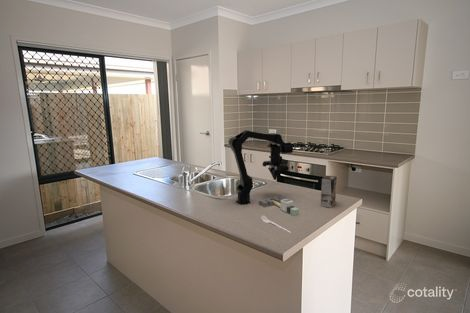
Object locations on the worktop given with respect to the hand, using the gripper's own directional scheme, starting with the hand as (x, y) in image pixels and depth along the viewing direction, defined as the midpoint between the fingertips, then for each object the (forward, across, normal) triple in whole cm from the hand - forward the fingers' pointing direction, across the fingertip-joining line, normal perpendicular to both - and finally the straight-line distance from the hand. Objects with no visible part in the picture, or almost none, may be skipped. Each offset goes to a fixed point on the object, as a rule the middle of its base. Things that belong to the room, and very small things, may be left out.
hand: (274, 179), depth 172 cm
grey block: (+12, -19, +6) cm, 23 cm away
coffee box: (+12, -24, -20) cm, 34 cm away
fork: (+13, -31, +23) cm, 40 cm away
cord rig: (+12, -15, +6) cm, 20 cm away
